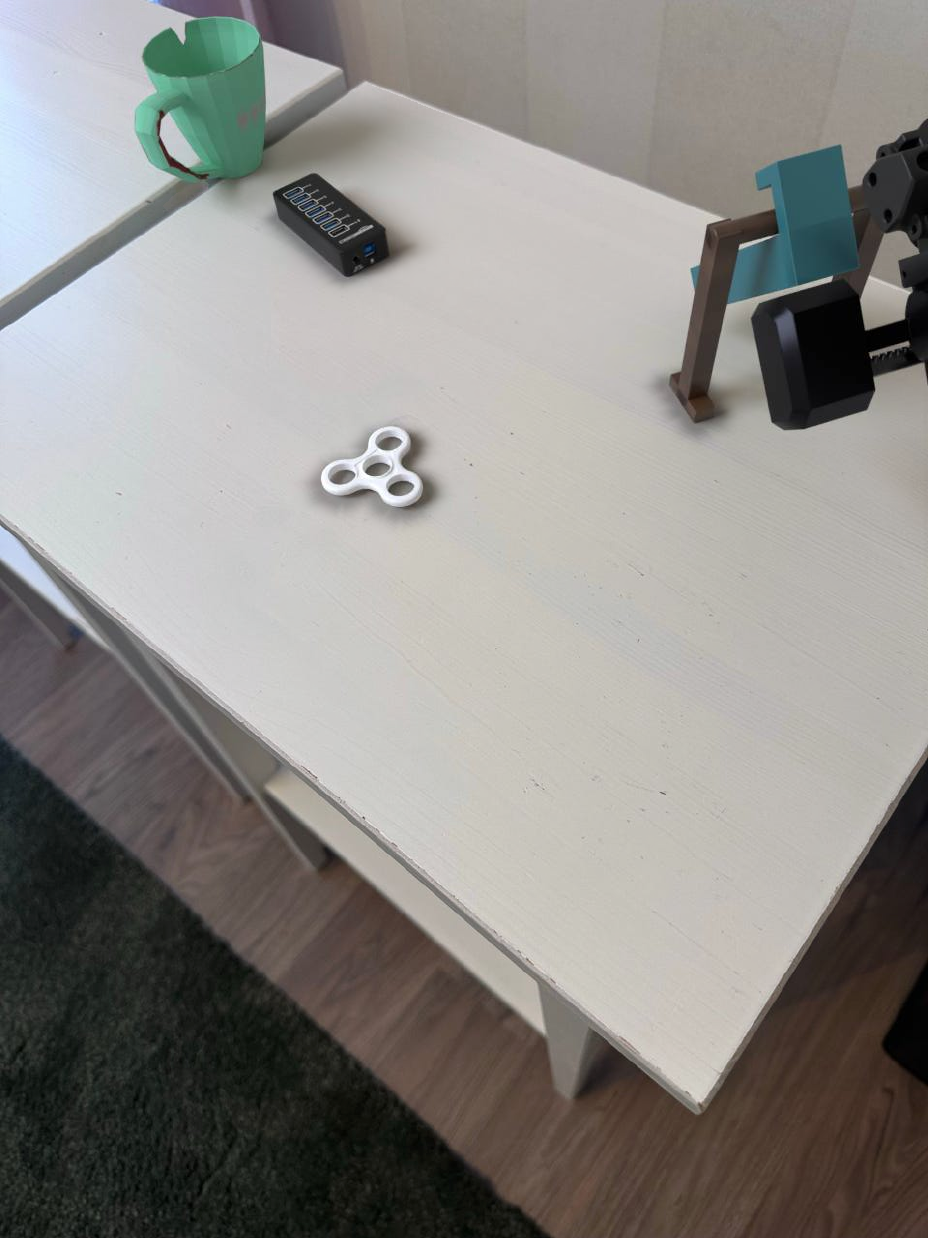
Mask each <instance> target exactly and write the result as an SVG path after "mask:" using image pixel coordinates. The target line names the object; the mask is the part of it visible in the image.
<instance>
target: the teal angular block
mask: <svg viewBox="0 0 928 1238" xmlns="http://www.w3.org/2000/svg"><path fill="white" fill-rule="evenodd" d="M844 161H845V160H844V153H843V148H842V144H836V145H835V144H834V145H832V146H828V147H825V148H820V149H817V150H813V151H810V152H806V153H803V154H799V155H795V156H791V157H787V158H784V159H780V160H776V161H775V162H773V163H771V164H769V165H767V166H766V167H763V168H761V169H760V170H758V171H756V172H754V178H755V184H756V189H757V191H758V192H759V191H763V190H767V189H771V193H772V194H771V195H772V200H773V205H774V208H775V212H776V218H777V224H778V230H779V234H776V235H773V236H771V237H770V238H769V237H768V238H767V239H764V240H761V241H758V242H755V243H754V244H751V245H748V246H746V247H743V248H739V250H738V255H737V260H736V264H735V269H734V274H733V278H732V283H731V288H730V292H729V297H728V302H727V305H731V304H734V303H739V302H743V301H746V300H750V299H754V298H757V297H762V296H764V295H765V296H766V295H770V294H772V293H776V292H780V291H784V290H788V289H792V288H795V287H798V286H802V285H806V284H809V283H814V282H817V281H820V280H823V279H827V278H830V277H833V276H834V275H837V274H841V273H844V272H848V271H851V270H855V269H858V268H860V266H859V259H858V252H857V246H856V239H855V232H854V225H853V219H852V216H853V213H851V207H850V200H849V194H848V188H849V186H848V182H847V181H848V180H847V175H846V167H845V162H844ZM699 266H700V264H698V265H696V266H693V267H690V274H691V281H692V285H693V291H695V289H696V283H697V278H698V272H699Z"/></svg>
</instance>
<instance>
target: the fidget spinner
mask: <svg viewBox="0 0 928 1238" xmlns="http://www.w3.org/2000/svg"><path fill="white" fill-rule="evenodd" d="M387 438H397V439H399V440H400V441H401V443H400V445H399V446H398V447H396V448H394V449H391V450H385V449H381V448H380V447H378V445H379V443H380V442H381V441H382V440H384V439H387ZM411 443H412V441H411V437H410V435H409V433H408V432H407V431H406V430H405V429H403V428H402V427H399V426H394V425H393V426H391V425H390V426H389V425H388V426H384V427H381V428H379V429H377V430H375V431H374V432H373V433H372V434H371V436H370V437H369V439H368V446H367V449H366V450H365V452H364V453H363V454H362V455H360V456H358V457H356V458H355V457H354V458H350V459H348V458H347V459H345V458H343V459H338V460H334V461H332V462H330V463H329V464H328V465H326V466H325V468H324V469H323V470H322V472H321V476H320V481H321V484H322V487H323V489H325V491H326V492H328V493H329V494H331V495H334V496H347V495H351V494H353V493H355V492H358V491H360V490H372V491H374V492H376V493H377V494H379V496H380V497H381V499H382V501H383V502H384V503H385V504H387V505H389V506H392V507H395V508H403V507H404V508H405V507H407V506H411V505H413V504H414V503H416V502H417V501H419V499H420V498H421V496H422V494H423V491H424V485H423V481H422V478H421V477H420V476H419V475H418V474H417V473H415V472H414V471H412V470H411V471H410V470H409V469H407V468H405V467H404V466H403V464H402V461H403V458H404V457H405V456H406V455H407V454H408V452H409V450H410V449H411V445H412V444H411ZM374 464H375V465H376V464H385V465H388V467H389V469H388V470H387V471H386V472H385V473H384V474H381V475H377V476H376V475H371V474H368V473H366V472H367V470H368V468H370V467H371V466H372V465H374ZM340 471H350V472H353V473H354V474H355V476H354V477H353V479H352V480H350V481H349V482H347V483H344V484H337V483H333V482H332V481H331V478H332V477H333V476H334V474H336V473H337V472H340ZM402 481H403V482H409V483H411V484H412V485H413V489H412V490H411V491H410V492H409V493H407V494H404V495H394V494H392V493H390V492H389V488H390V487H391V486H392V485H394V484H395V483H398V482H402Z"/></svg>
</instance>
